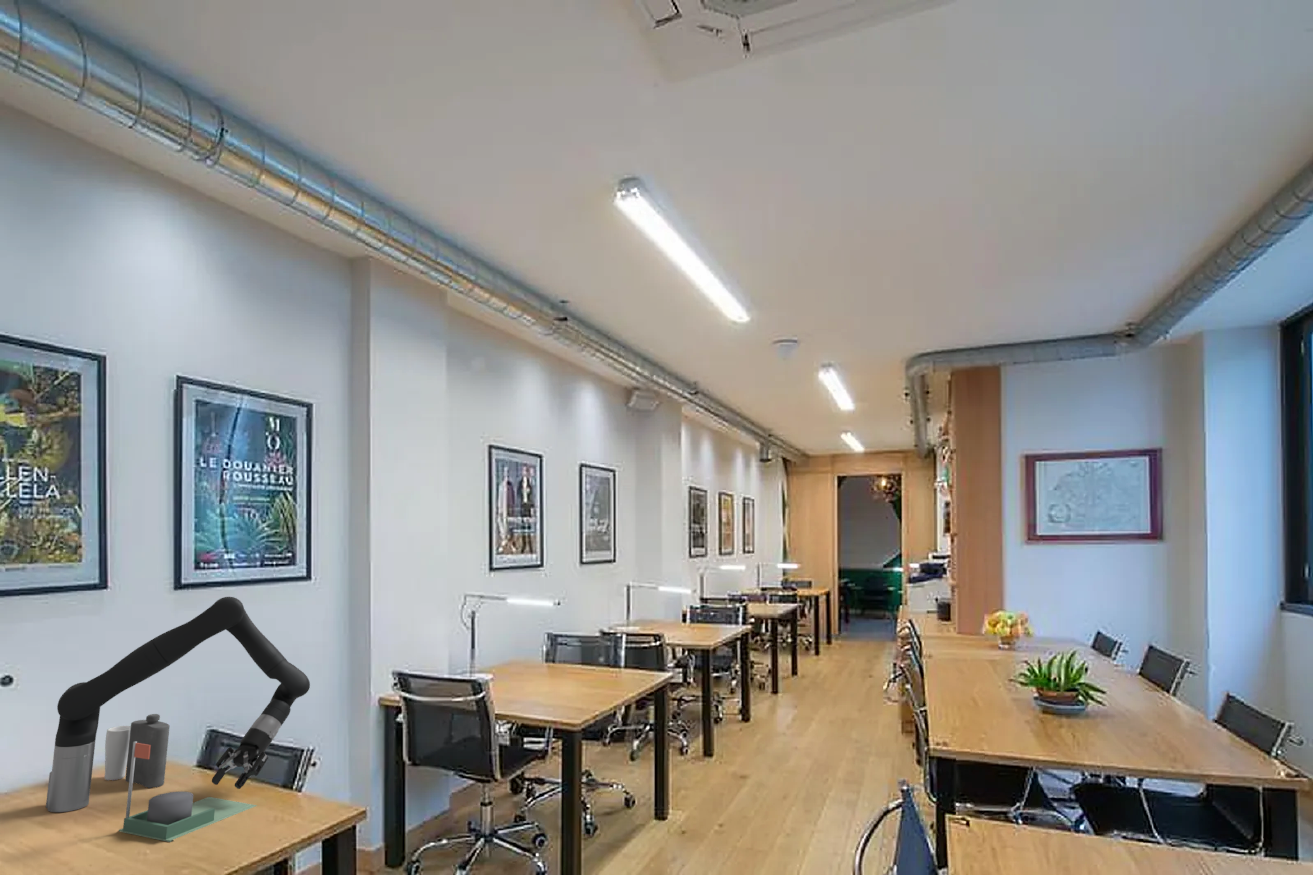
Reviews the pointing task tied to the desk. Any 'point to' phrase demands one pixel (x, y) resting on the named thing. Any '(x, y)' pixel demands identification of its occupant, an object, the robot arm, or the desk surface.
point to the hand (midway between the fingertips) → (225, 785)
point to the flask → (157, 737)
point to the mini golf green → (201, 817)
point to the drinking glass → (116, 752)
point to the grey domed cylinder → (170, 807)
